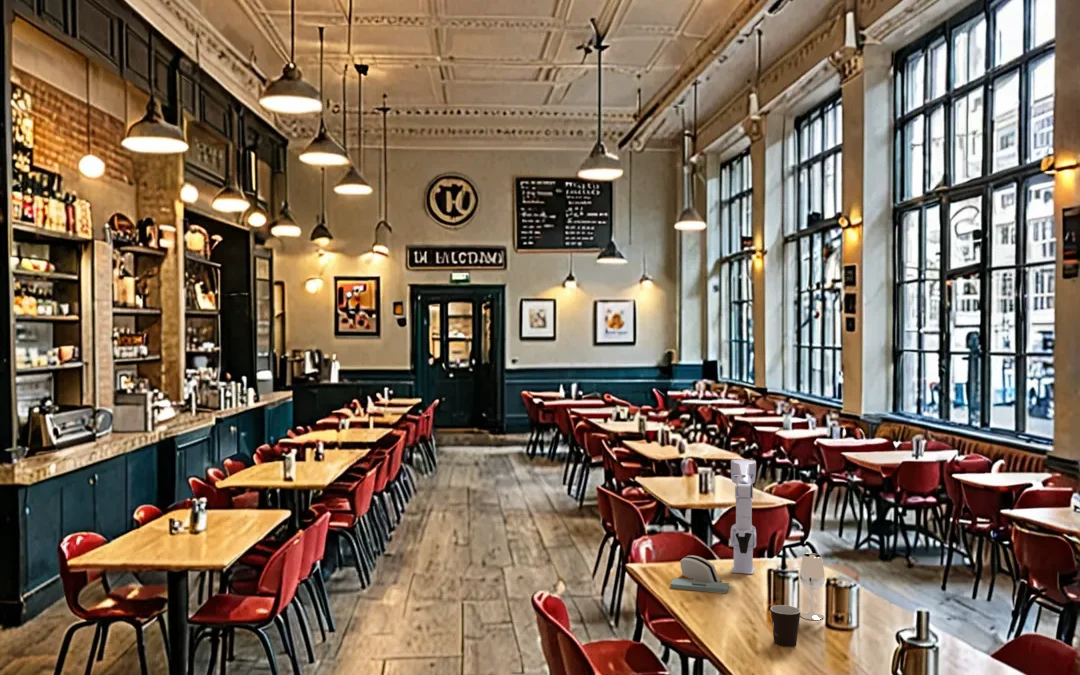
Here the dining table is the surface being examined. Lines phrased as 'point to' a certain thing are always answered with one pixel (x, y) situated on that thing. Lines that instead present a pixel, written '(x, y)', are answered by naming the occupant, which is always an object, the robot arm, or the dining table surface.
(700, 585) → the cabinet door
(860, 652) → the dining table surface
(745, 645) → the dining table surface
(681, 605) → the dining table surface
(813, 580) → the wineglass
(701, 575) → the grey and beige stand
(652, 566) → the dining table surface
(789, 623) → the coffee mug
